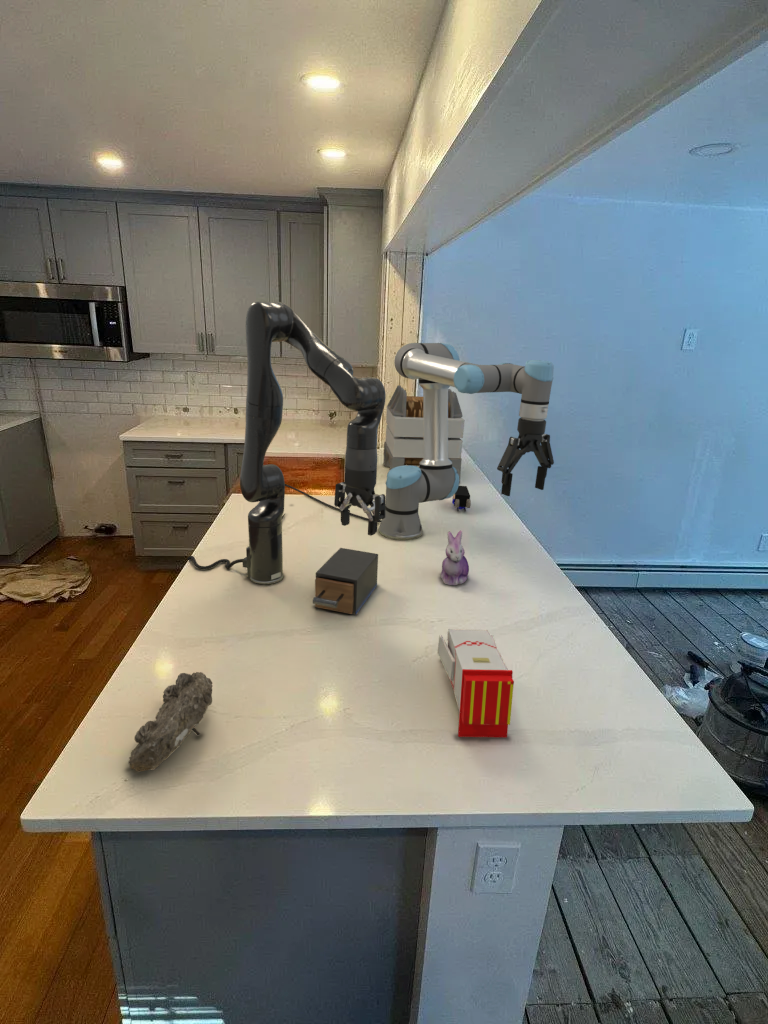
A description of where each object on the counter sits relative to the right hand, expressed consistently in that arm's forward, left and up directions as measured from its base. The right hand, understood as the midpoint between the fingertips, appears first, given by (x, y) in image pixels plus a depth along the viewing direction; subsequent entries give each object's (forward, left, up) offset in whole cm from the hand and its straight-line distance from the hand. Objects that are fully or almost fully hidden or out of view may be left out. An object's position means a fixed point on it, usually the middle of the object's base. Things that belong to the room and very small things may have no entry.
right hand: (522, 491), depth 164 cm
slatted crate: (-97, +55, -27) cm, 114 cm away
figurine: (-8, -17, -27) cm, 33 cm away
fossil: (+5, -105, -27) cm, 108 cm away
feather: (-81, -31, -27) cm, 91 cm away
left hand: (-9, -53, -3) cm, 54 cm away
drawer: (-16, -53, -26) cm, 61 cm away
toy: (+30, -53, -27) cm, 66 cm away
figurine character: (-51, +33, -27) cm, 66 cm away
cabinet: (-19, -49, -27) cm, 58 cm away
